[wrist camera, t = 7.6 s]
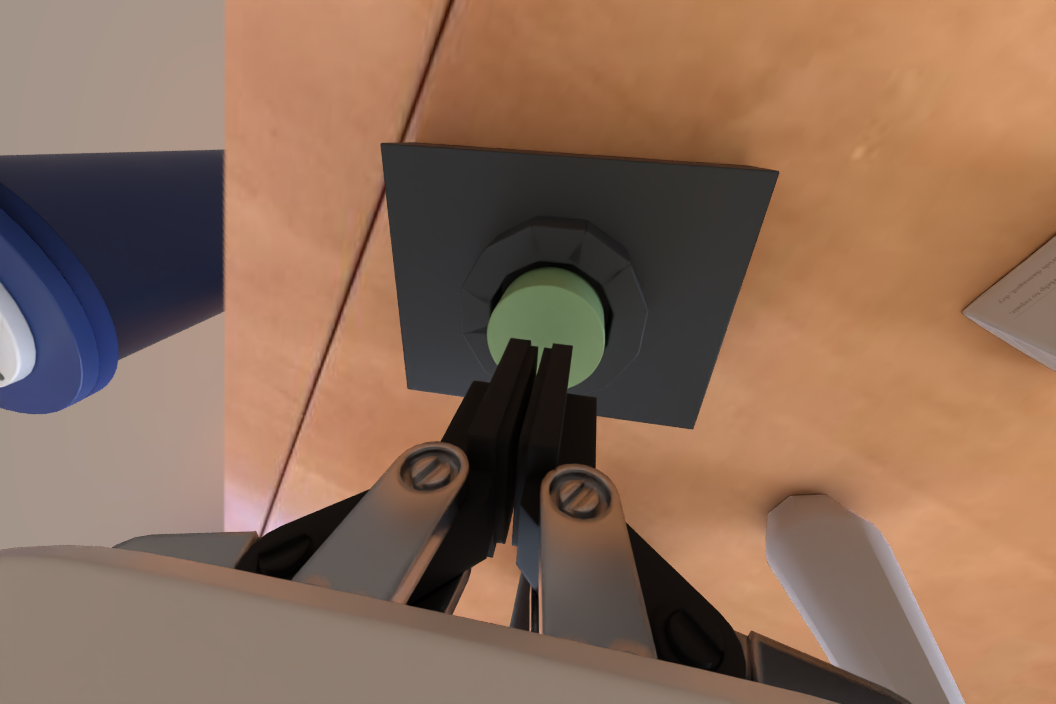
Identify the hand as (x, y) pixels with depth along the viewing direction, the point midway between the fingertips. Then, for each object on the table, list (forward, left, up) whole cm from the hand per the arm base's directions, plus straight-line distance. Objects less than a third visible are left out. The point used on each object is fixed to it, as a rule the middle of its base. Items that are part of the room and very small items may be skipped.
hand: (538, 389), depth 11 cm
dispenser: (0, 0, -10) cm, 10 cm away
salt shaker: (+16, -13, -10) cm, 23 cm away
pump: (0, 0, -5) cm, 5 cm away
